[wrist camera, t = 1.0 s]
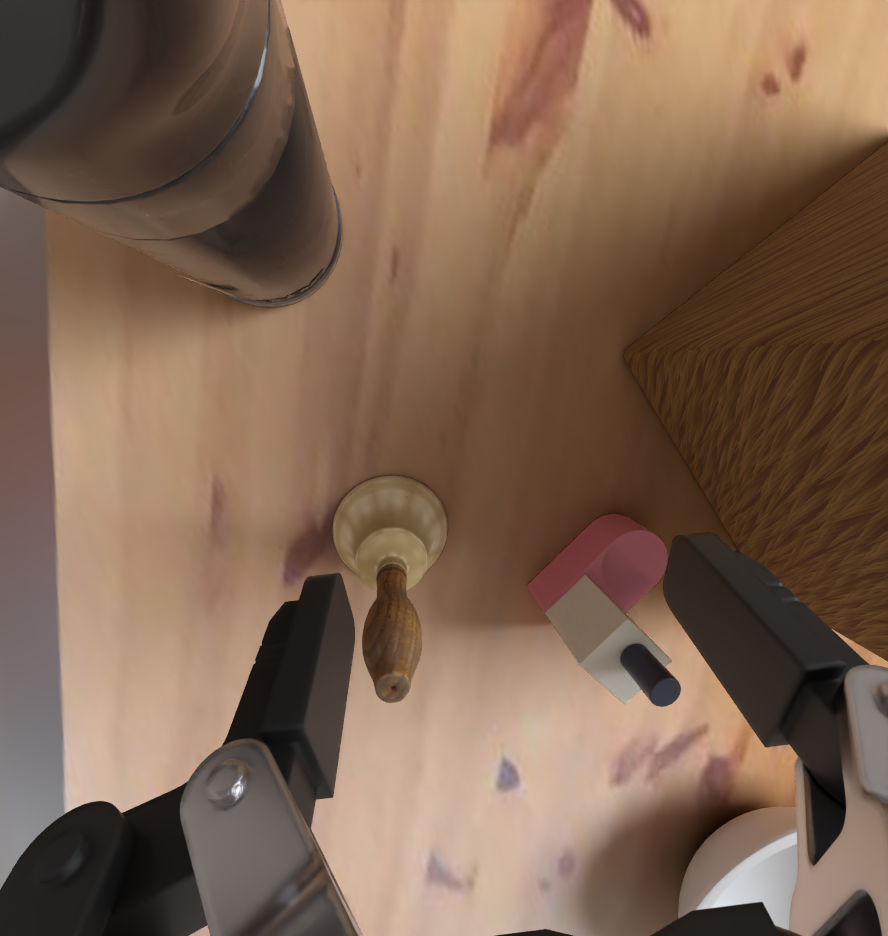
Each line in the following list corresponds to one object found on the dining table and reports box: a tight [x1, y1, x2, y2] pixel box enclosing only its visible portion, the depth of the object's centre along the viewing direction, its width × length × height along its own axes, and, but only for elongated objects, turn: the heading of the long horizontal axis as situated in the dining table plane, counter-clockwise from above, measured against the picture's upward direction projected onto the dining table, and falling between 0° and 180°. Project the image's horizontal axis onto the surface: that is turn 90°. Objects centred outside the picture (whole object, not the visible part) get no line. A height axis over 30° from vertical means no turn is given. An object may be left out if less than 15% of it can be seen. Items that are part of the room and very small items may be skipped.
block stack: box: [527, 514, 681, 707], centre depth 28 cm, size 10×5×12 cm, turn 135°
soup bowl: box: [678, 806, 798, 930], centre depth 41 cm, size 24×24×7 cm
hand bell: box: [332, 476, 448, 703], centre depth 23 cm, size 8×8×16 cm
